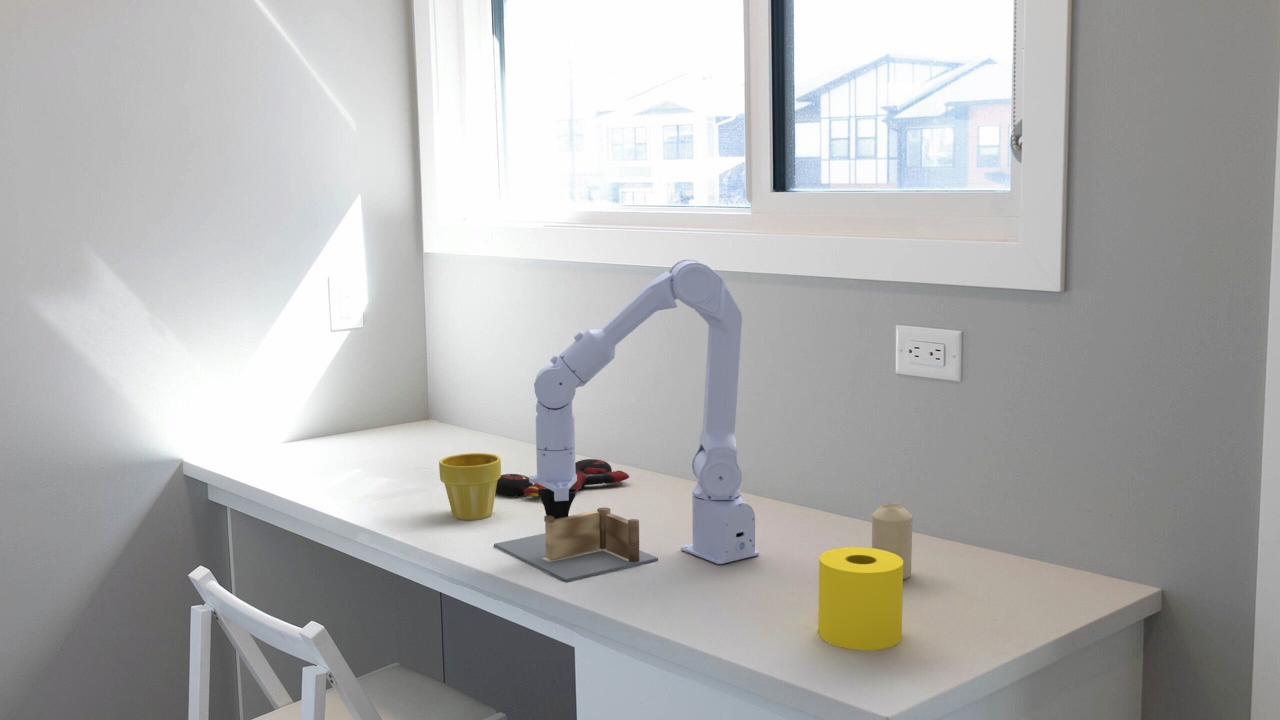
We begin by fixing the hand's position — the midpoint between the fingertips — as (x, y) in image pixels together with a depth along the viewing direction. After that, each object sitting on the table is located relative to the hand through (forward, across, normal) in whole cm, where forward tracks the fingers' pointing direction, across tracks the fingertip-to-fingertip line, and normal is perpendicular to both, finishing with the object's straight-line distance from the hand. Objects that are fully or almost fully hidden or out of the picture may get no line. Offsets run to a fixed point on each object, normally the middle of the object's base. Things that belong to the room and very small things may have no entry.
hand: (557, 536), depth 171 cm
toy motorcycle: (+4, -40, +5) cm, 41 cm away
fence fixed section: (+3, +2, +9) cm, 10 cm away
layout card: (+3, -1, +3) cm, 4 cm away
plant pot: (+3, -26, -12) cm, 29 cm away
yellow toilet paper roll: (+3, +38, +33) cm, 50 cm away
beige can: (+3, +18, +45) cm, 49 cm away
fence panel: (+2, +1, +2) cm, 3 cm away
